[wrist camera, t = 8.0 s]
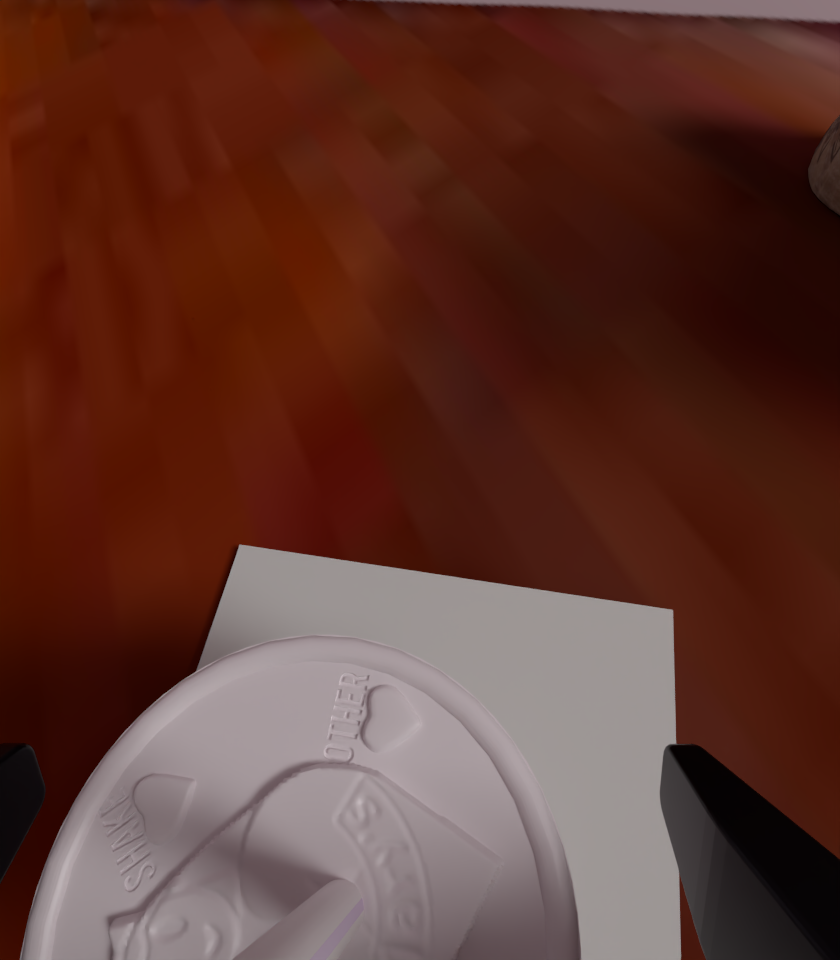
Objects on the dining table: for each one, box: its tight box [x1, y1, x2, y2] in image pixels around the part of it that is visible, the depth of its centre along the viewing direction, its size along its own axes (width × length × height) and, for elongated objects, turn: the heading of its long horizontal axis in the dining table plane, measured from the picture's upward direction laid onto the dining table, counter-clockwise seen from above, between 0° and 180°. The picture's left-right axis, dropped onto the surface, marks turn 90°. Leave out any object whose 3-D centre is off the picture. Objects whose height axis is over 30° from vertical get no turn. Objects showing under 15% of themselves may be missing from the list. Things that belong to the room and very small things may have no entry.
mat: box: [196, 545, 681, 960], centre depth 15 cm, size 14×14×1 cm
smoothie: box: [20, 635, 581, 960], centre depth 9 cm, size 6×6×14 cm
